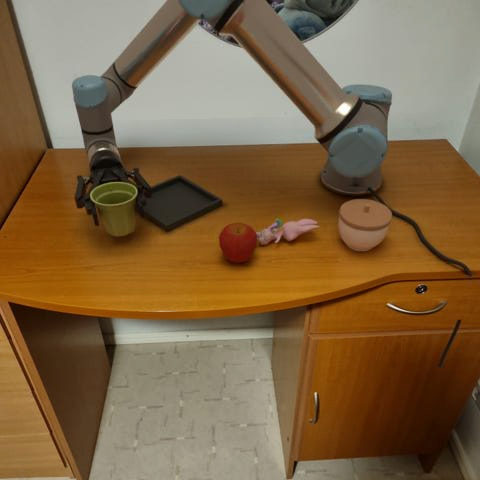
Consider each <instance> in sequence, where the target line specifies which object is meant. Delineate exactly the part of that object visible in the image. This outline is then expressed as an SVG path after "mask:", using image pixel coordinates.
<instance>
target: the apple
mask: <svg viewBox="0 0 480 480" xmlns="http://www.w3.org/2000/svg"><path fill="white" fill-rule="evenodd" d="M255 232H256V231H255V230H254V228H253V227H252V226H250V225H248V224H246V223H242V222H233V223H230V224H228V225H226V226H224V227H223V228H222V230H221V231H220V233H219V235H218V242H219V243H218V244H219V248H220V250H221V253H222V254H223V255H224V257H225V258H226V259H227V260H228V261H230V262H233V263H240V264H241V263H244V262H247V261H249V260H250V259H251V258H252V256H253V254H254V253H255V251H256V248H257V245H258V241H257V235H256V233H255Z"/></svg>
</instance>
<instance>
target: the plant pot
mask: <svg viewBox="0 0 480 480" xmlns="http://www.w3.org/2000/svg"><path fill="white" fill-rule="evenodd" d="M136 196H137V189H136V187H135V186H133V185H131V184H129V183H124V182H111V183H106V184H103V185H100V186H98V187H96V188H95V189H93V190H92V192H91V194H90V198H91V200H92V201H93V202H94V203H95V207H96V209H97V210H98V214H99V216H100V218H101V221H102V223H103V226H104V228H105V231H106V233H107V234H109V235H110V236H112V237H124V236H128V234H131V233H133V232H134V231H135V230H136V210H135V201H136Z"/></svg>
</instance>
